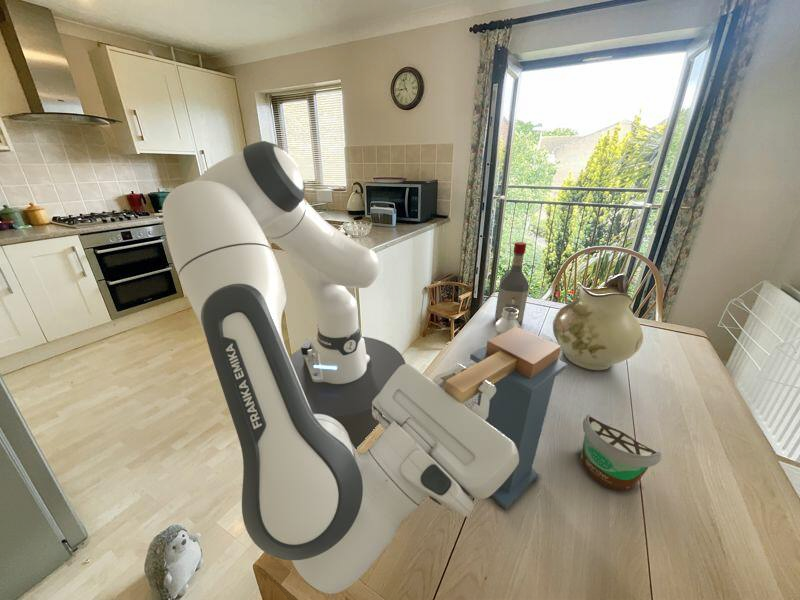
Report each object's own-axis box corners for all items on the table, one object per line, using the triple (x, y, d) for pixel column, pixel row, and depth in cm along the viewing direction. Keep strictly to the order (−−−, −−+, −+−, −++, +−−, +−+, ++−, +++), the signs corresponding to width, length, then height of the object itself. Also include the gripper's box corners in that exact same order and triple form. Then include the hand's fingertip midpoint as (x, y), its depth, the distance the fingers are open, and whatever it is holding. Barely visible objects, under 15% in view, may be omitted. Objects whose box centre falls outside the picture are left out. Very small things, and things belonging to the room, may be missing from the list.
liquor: (522, 330, 110) (537, 247, 98) (495, 327, 112) (507, 245, 100) (519, 318, 118) (533, 241, 106) (494, 315, 120) (505, 239, 108)
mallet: (431, 382, 44) (432, 368, 43) (514, 338, 55) (516, 326, 54) (476, 416, 38) (478, 400, 37) (558, 359, 49) (561, 345, 48)
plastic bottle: (509, 384, 83) (521, 318, 75) (484, 375, 87) (493, 311, 78) (515, 371, 88) (527, 308, 80) (491, 364, 92) (500, 302, 83)
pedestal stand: (457, 464, 61) (470, 353, 51) (489, 439, 67) (507, 335, 56) (505, 509, 53) (532, 389, 43) (537, 477, 59) (567, 363, 48)
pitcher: (558, 376, 86) (579, 294, 76) (538, 334, 108) (553, 265, 97) (647, 386, 83) (682, 301, 73) (609, 340, 104) (632, 269, 94)
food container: (562, 463, 61) (573, 425, 57) (575, 446, 65) (587, 410, 61) (635, 512, 53) (654, 472, 49) (645, 490, 56) (665, 451, 52)
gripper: (375, 417, 49) (432, 354, 53) (478, 529, 34) (547, 430, 38) (355, 399, 45) (419, 332, 49) (463, 516, 30) (542, 407, 34)
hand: (476, 375), depth 43 cm, fingers open, 3 cm apart
